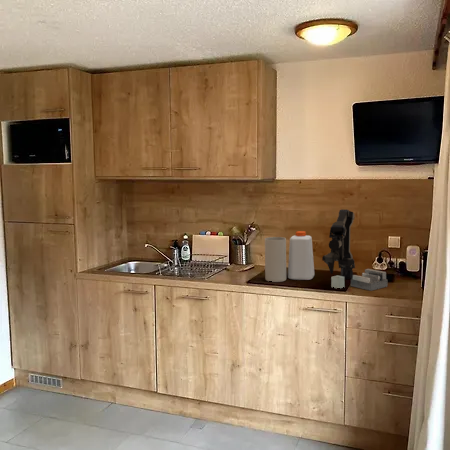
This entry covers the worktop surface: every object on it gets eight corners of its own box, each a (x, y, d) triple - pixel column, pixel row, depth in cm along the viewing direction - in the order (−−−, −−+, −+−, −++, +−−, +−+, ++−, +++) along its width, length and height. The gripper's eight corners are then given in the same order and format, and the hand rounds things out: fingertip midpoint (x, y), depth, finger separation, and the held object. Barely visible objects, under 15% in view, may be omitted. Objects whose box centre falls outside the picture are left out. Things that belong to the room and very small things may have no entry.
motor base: (350, 286, 280) (350, 272, 279) (366, 282, 288) (366, 268, 287) (371, 290, 269) (371, 276, 268) (387, 286, 277) (387, 272, 276)
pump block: (331, 287, 279) (331, 276, 278) (337, 285, 282) (337, 275, 281) (338, 288, 275) (338, 278, 274) (344, 287, 278) (344, 276, 277)
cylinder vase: (275, 276, 308) (274, 236, 305) (290, 279, 299) (290, 238, 296) (261, 280, 300) (260, 238, 297) (276, 283, 291) (275, 240, 288)
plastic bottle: (286, 279, 300) (286, 233, 296) (290, 274, 314) (290, 229, 311) (312, 280, 295) (311, 233, 292) (315, 275, 310) (315, 230, 306)
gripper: (315, 247, 279) (315, 274, 281) (341, 251, 264) (341, 280, 266) (329, 244, 285) (329, 271, 287) (355, 248, 270) (355, 277, 272)
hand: (338, 275), depth 278 cm, fingers open, 9 cm apart
